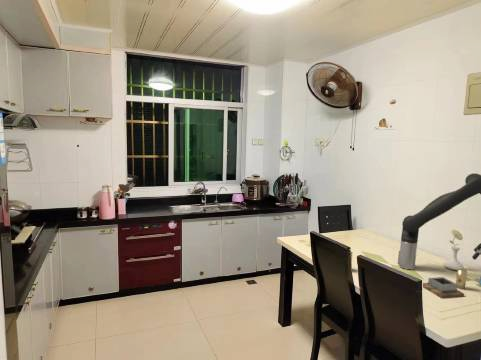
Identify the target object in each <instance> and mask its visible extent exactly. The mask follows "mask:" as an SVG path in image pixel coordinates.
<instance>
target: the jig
mask: <svg viewBox="0 0 481 360" xmlns="http://www.w3.org/2000/svg"><path fill="white" fill-rule="evenodd" d="M427 280H428V281H427V282H422V283H423V287H422V288H423V289H425V290H427V291H428V292H430V293H432V294H433V295H435V296H437V297H439V298H440V299H445V298H447V299H448V298H449V299H450V298H460V297H464V296H465V293H464V292H462V291H461V290H458V288H457V286H458V285H457V284H456V282H453V281H451V280H449V279H447V278H446V277H444V276H442V277H441V276H440V277H428V279H427Z"/></svg>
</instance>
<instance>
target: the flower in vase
mask: <svg viewBox="0 0 481 360" xmlns="http://www.w3.org/2000/svg"><path fill="white" fill-rule="evenodd" d="M450 231H451V232H450V233H451V234H452V236H453V237H454V238H453V240H451V239H450V240H449V241H448V242H449V243H450V244H451V245H453V246H450V249H452V250H451V251H452V256H451V258H450V259H447V260H446V261H443V263H442V265H443V267H445V268H447V269H450V270H453V271H457V269H463V270H465V266H464V265H463V264H462V263H461V262H460V261H459V260H458V259H457V255H458V253H459V252H460V249H461V248H460V247H458V245H459V243H457V244H455V241H454V240H455V239H456V240H458V241H463V238H464V237H463V234H462V233H461V232H460V231H459V230H457V229H455V228H453V229H451V230H450Z"/></svg>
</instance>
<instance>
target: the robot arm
mask: <svg viewBox="0 0 481 360" xmlns="http://www.w3.org/2000/svg"><path fill="white" fill-rule="evenodd" d="M464 181H465V184H464V185H463V186H461V187H460V188H458V189H456V190H454V191H450V192H447V193H444V194H442V195H440V196H438V197H436V198H435V199H433V200H432V201H431V202H429V203H428V204H427V205H426V206H425V207H424V208H422V210H420V211H419V212H417V213H415V214H414V215H407V216H405V217H404V218H403V220H402V222H401V223H402V224H401V225H402V227H401V229H402V230H401V238H400V248H399V250H398V257H397V265H398V264H399V265H398V267H399V266H400V267H399V268H401V267H402V268H401V269H403V268H406V269H405V270H407V269H411V270H410V271H413V270H415V269H416V268H415V267H416V260H417V259H416V258H417V249H418V241H419V240H418V239H419V231H420V228H421V227H423V226H424V225H426V224H427V223H428V222H430V221H432V220H434V219H436V218H438V217H440V216H442V215H444V214H445V213H447V212H448V211H450V210H452V209H453V208H454V207H456V206H458V205H460V204H461V203H463V202H464V201H467V200H468V199H470V198H472V197H474V196H476V195H478V194H480V195H481V174H479V173H470V174H467V176H466V177H465V180H464ZM473 251H474V252H475V253H473V255H472V259H473V260H476V259H478V257H480V255H481V243H479V244H478V245H477V246H476V247H474V248H473Z"/></svg>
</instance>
